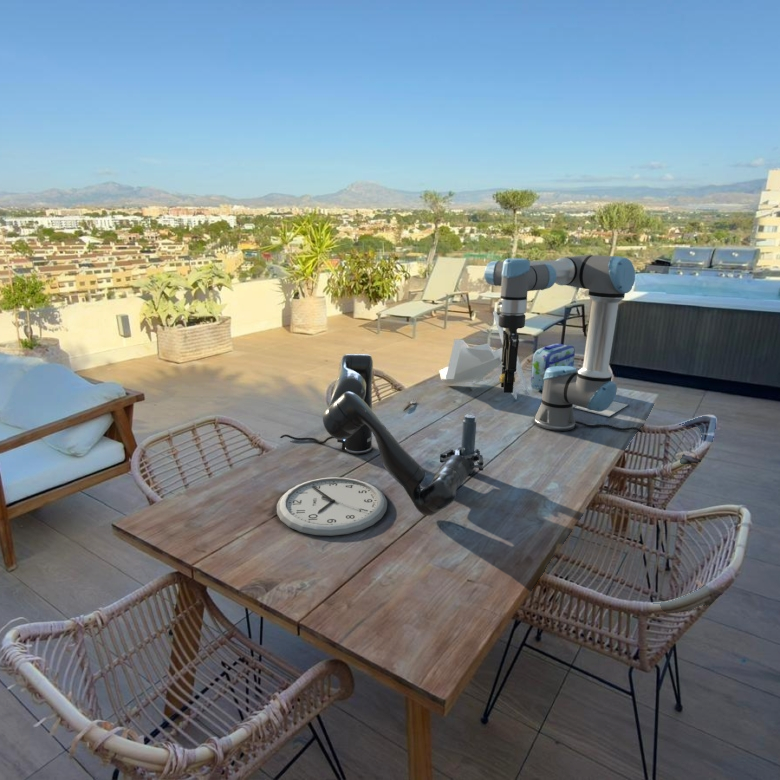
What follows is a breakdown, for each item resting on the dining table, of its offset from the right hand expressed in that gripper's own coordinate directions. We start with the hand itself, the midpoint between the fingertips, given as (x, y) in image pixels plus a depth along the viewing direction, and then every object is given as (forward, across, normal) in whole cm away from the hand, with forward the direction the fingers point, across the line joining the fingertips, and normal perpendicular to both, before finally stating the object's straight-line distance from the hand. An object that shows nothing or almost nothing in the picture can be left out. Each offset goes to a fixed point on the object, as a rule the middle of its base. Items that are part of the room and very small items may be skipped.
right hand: (506, 389), depth 159 cm
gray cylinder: (+26, +4, -11) cm, 29 cm away
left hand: (+20, +1, -10) cm, 23 cm away
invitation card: (+28, -65, +52) cm, 88 cm away
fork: (+26, -57, -30) cm, 70 cm away
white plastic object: (+27, -80, +2) cm, 84 cm away
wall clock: (+25, +28, -50) cm, 62 cm away
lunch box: (+28, -91, +37) cm, 102 cm away
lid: (-4, 0, 0) cm, 4 cm away
